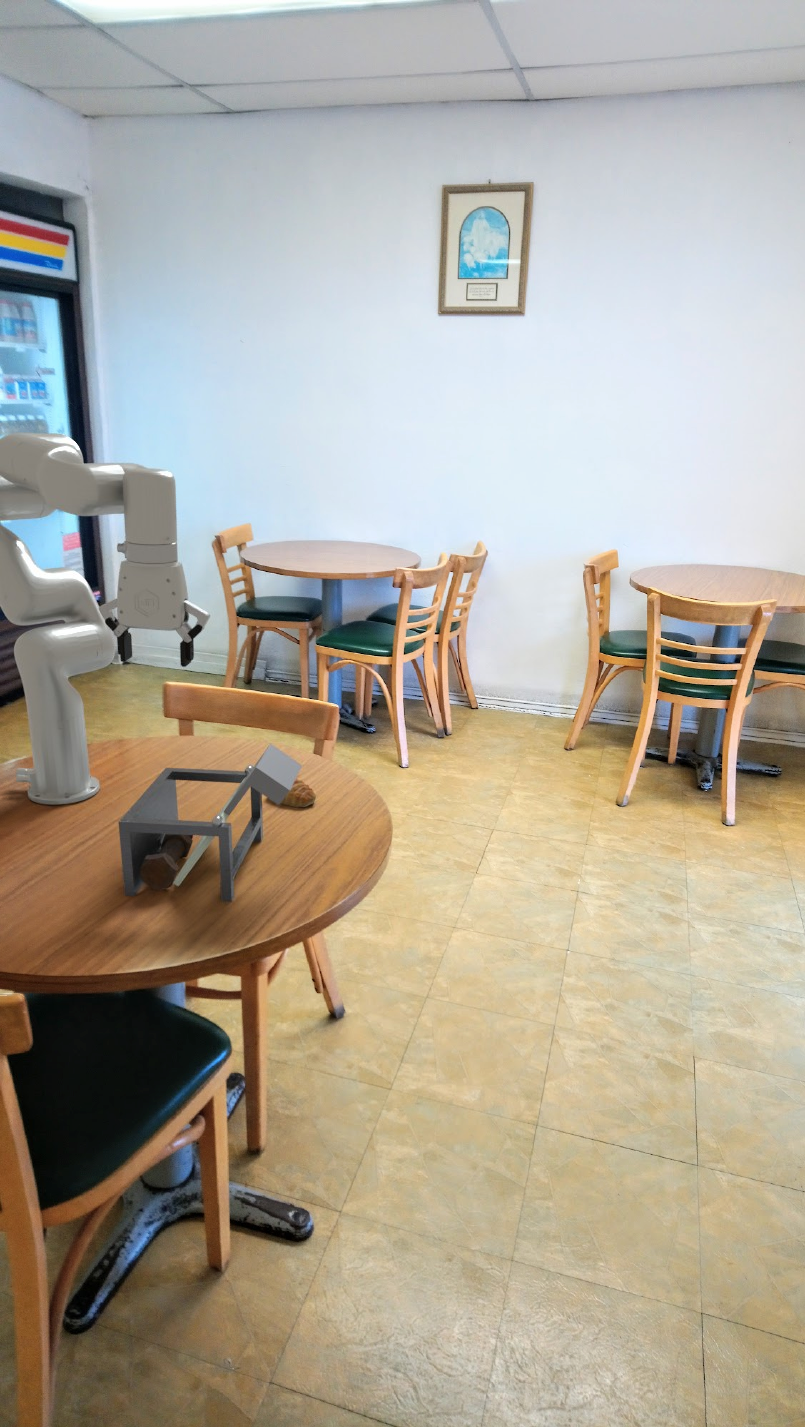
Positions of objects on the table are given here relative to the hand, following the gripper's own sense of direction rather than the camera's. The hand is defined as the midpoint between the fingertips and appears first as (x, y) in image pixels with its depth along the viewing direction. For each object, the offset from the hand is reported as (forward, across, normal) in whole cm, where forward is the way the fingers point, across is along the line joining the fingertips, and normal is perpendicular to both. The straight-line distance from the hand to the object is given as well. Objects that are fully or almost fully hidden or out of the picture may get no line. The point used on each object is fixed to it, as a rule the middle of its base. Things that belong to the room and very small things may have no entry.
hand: (156, 661), depth 137 cm
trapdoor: (+23, +19, -9) cm, 31 cm away
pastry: (+31, +18, +18) cm, 40 cm away
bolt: (+26, +7, -11) cm, 29 cm away
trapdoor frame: (+30, +9, -10) cm, 33 cm away
